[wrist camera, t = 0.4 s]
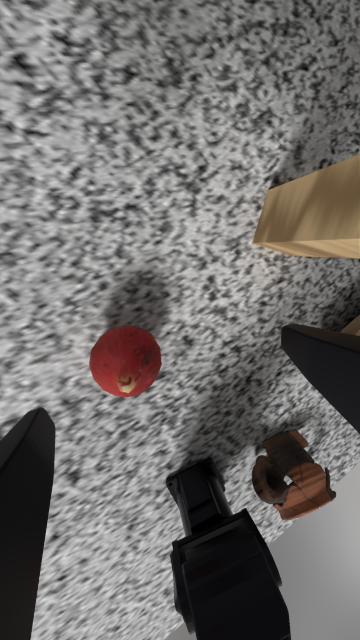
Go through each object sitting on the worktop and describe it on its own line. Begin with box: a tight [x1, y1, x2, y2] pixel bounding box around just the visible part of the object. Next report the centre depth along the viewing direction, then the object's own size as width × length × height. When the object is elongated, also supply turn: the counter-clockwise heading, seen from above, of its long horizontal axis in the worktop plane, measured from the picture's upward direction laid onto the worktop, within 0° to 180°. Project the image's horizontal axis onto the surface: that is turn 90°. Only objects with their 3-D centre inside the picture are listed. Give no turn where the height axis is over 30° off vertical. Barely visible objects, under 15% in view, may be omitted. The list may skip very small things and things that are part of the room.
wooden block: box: [252, 154, 360, 258], centre depth 18 cm, size 5×5×13 cm
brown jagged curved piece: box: [252, 430, 336, 520], centre depth 31 cm, size 12×10×8 cm
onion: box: [89, 326, 162, 397], centre depth 20 cm, size 6×6×8 cm
